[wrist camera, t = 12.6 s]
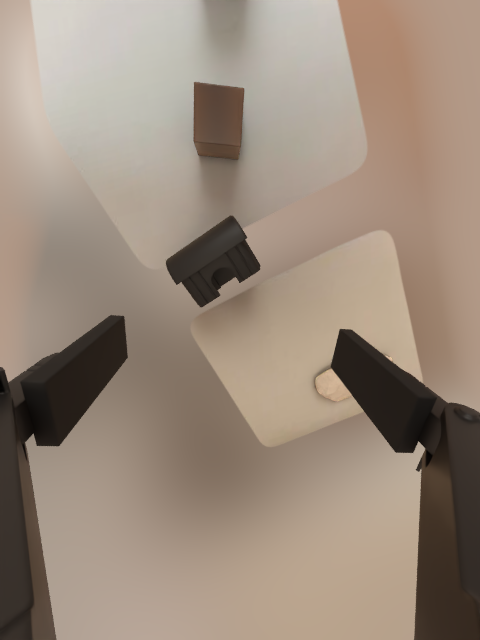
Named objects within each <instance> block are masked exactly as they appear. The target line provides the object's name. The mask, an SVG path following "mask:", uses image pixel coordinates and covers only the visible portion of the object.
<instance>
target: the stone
mask: <svg viewBox="0 0 480 640" xmlns="http://www.w3.org/2000/svg"><path fill="white" fill-rule="evenodd" d="M385 357H387V358H388V359H389V360H390V361H392V362H393V359H392V358H391V357H388V356H385ZM315 380H316V382H315V385H316V389H317V391H318V392H319V394H321V395H322V396H324V397H326V398H329V399H331V400H333V401H335V402H338V401H340V400H342V399H345V398H348V397H351V396H352V395H351V393H350V392H349V391H348V389H347V388H346V387H345V385H344V384H343V383H342V381H341V380H340V379H339V378H338V376H337V375H336V374H335V372H334V371H333V370H332V368H331V369H328V370H327V371H325V372H323V373H322V374H320V375H319V376H318V377H317V378H316V379H315Z"/></svg>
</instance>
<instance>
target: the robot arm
mask: <svg viewBox="0 0 480 640" xmlns="http://www.w3.org/2000/svg"><path fill="white" fill-rule="evenodd" d="M127 358H128V356H127V344H126V333H125V320H124V316H114V315H111V316H109V317H108V318H106V319H105V320H104V321H102V322H101V323H99V324H98V325H97V326H95V327H94V328H93V329H91V330H90V331H89V332H87V333H86V334H84V335H83V336H82V337H80V338H79V339H78V340H76V341H75V342H73V343H72V344H71V345H69V346H68V347H67V348H65V349H64V350H63V351H62V352H60V353H55V354H52V355H50V356H47V357H45V358H43V359H42V360H40V361H39V362H37V363H36V364H35V365H34V366H32V367H30V368H29V369H27V371H24V372H23V373H21V374H20V375H19V376H17V377H16V378H14V379H13V380H12V381H10V382H9V383H8V381H7V377H6V374H5V370H4V369H3V368H2V367H0V640H56V635H55V628H54V622H53V615H52V608H51V602H50V596H49V590H48V583H47V576H46V570H45V564H44V557H43V550H42V544H41V537H40V531H39V524H38V518H37V511H36V505H35V498H34V492H33V485H32V479H31V472H30V466H29V460H28V453H27V448H26V444H25V442H26V441H27V440H28V439H29V437H30V436H31V435H32V434H33V433H34V436H35V440H36V444H37V446H60V444H61V443H62V442H63V440H64V439H65V438H66V437H67V435H68V434H69V433H70V431H71V430H72V429H73V427H74V426H75V425H76V424H77V422H78V421H79V420H80V418H81V417H82V416H83V415H84V413H85V412H86V411H87V409H88V408H89V407H90V406H91V404H92V403H93V402H94V400H95V399H96V398H97V397H98V395H99V394H100V393H101V391H102V390H103V389H104V388H105V386H106V385H107V383H108V382H109V381H110V380H111V378H112V377H113V376H114V375H115V373H116V372H117V371H118V369H119V368H120V367H121V366H122V364H123V363H124V362H125V360H126V359H127ZM331 368H332V370H333V371H334V372H335V374H336V375H337V376H338V378H339V379H340V380H341V381H342V383H343V384H344V385H345V387H346V388H347V389H348V391H349V392H350V393H351V395H352V396H353V397H354V398H355V400H356V401H357V402H358V404H359V405H360V406H361V408H362V409H363V410H364V412H365V413H366V414H367V416H368V417H369V418H370V419H371V421H372V422H373V423H374V425H375V426H376V427H377V428H378V430H379V431H380V432H381V434H382V435H383V436H384V438H385V439H386V440H387V442H388V443H389V444H390V446H391V447H392V448H393V449H394V451H395V452H396V453H397V452H398V453H413V452H414V450H415V447H416V445H417V443H418V441H419V442H420V443H421V444H422V445H423V446H424V447H425V451H424V453H423V456H422V458H421V460H420V462H419V464H418V467H417V469H416V470H417V471H420V469H422V473H421V496H420V519H419V520H420V521H419V542H418V567H417V589H416V591H417V592H416V613H415V636H414V640H480V413H479V412H477V411H476V410H474V409H472V408H469V407H467V406H464V405H461V404H457V403H447V402H446V401H444V400H443V399H442V398H441V397H439V396H438V395H437V394H435V393H434V392H433V391H431V390H430V389H429V388H428V387H425V385H424V384H423V383H421V382H419V380H417V379H416V378H415V377H414V376H412V375H411V374H409V373H407V372H406V371H404V370H402V369H401V368H399V367H398V366H397V365H396V364H394V363H393V362H392V361H390V360H389V359H388V358H387V357H385V356H384V355H383V354H382V353H380V352H379V351H378V350H377V349H375V348H374V347H373V346H372V345H370V344H369V343H368V342H366V341H365V340H364V339H363V338H361V337H360V336H359V335H358V334H356V333H355V332H354V331H353V330H348V329H340V331H339V335H338V339H337V343H336V347H335V351H334V355H333V360H332V364H331Z"/></svg>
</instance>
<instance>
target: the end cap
mask: <svg viewBox="0 0 480 640" xmlns="http://www.w3.org/2000/svg"><path fill="white" fill-rule="evenodd" d="M246 238H247V236H246V235H245V233H244V231H243V230H242V228H241V227H240V225H239V224H238V222H237V221H236V219H235V218H234V217H233V216H229V217H228V218H226V219H225V220H223V221H222V222H220V223H219V224H218V225H216V226H215V227H213V228H212V229H210V230H209V231H207V232H206V233H205V234H203V235H202V236H200V237H199V238H197V239H196V240H194V241H193V242H192V243H190V244H189V245H187V246H186V247H184V248H183V249H181V250H180V251H179V252H177V253H176V254H174V255H173V256H171V257H170V258H168V259H167V260H166V266H167V269H168V271H169V273H170V275H171V277H172V279H173V280H174V282H175V283H176V285H177V284H179V283H180V282H182V284H183V285H184V286H185V287H186V289H187V290H188V292H189V293H190V294H191V296H192V297H193V299H194V300H195V301H196V302H197V304H198V305H199V306H200V307H203V306H205V305H206V304H208V303H209V302H211V301H213V300H214V299H216V298H217V297H219V296H220V294H219V292H218V291H217V290H218V289H220V288H221V286H222V285H224V284H225V283H227V282H228V281H230V280H231V279H233V278H234V277H236V278H237V279H238V281H239V283H241V282H242V281H244V280H245V279H247V278H248V277H250V276H251V275H253V274H255V273H256V272H258V271H259V270H260V264H259V262H258V261H257V259H256V257H255V255H254V254H253V252H252V250H251V249H250V247H249V245H248V244H247V242H246V240H245V239H246Z"/></svg>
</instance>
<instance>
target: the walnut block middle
mask: <svg viewBox="0 0 480 640" xmlns="http://www.w3.org/2000/svg"><path fill="white" fill-rule="evenodd" d="M243 102H244V88H238V87H230V86H222V85H215V84H207V83H199V82H194V143H195V146H196V149H197V152H198V155H201V156H211V157H220V158H230V159H238V158H239V152H240V147H241V134H242V118H243Z"/></svg>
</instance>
